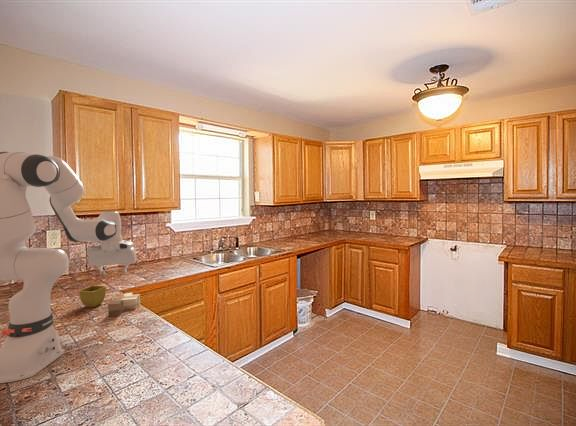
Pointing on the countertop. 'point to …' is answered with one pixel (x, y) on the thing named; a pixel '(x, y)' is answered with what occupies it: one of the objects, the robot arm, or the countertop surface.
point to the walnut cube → (115, 308)
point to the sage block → (127, 294)
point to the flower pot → (92, 295)
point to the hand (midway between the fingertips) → (113, 273)
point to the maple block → (131, 301)
